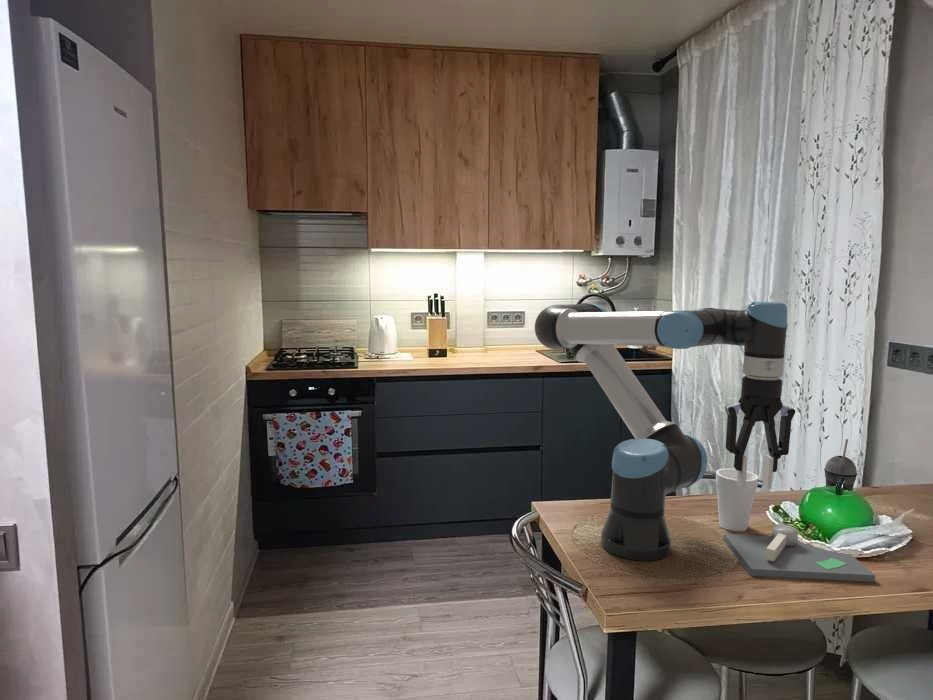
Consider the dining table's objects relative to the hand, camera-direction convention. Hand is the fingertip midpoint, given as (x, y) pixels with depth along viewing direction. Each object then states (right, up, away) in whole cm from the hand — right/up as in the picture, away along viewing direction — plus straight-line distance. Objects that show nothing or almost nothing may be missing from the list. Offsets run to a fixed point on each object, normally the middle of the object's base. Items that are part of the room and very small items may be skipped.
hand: (754, 485), depth 130 cm
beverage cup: (+34, -14, +28) cm, 46 cm away
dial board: (+10, -17, +3) cm, 20 cm away
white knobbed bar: (+7, -14, +4) cm, 17 cm away
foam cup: (+4, -15, +20) cm, 25 cm away
